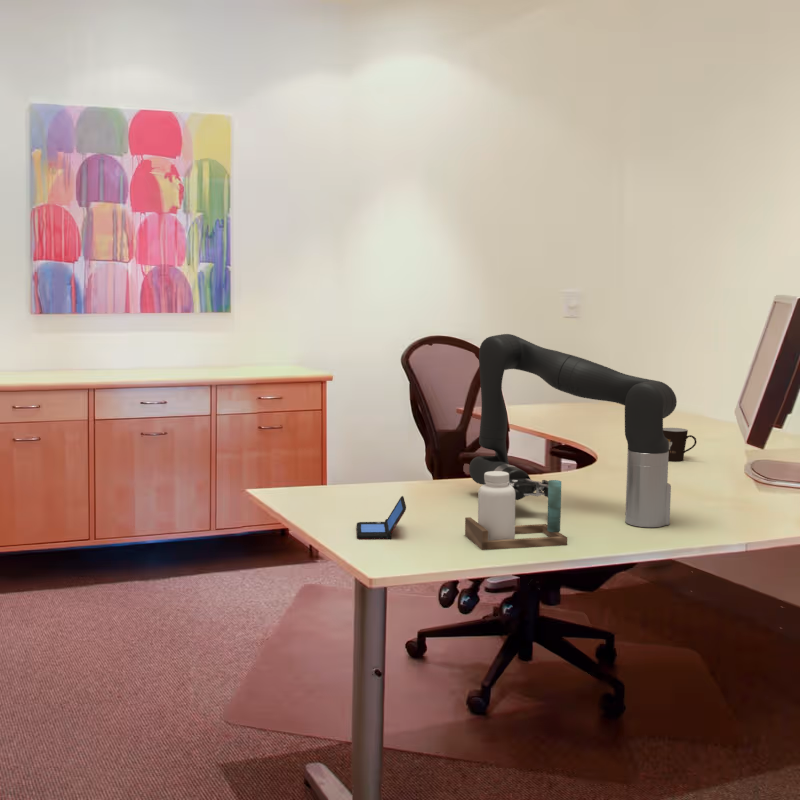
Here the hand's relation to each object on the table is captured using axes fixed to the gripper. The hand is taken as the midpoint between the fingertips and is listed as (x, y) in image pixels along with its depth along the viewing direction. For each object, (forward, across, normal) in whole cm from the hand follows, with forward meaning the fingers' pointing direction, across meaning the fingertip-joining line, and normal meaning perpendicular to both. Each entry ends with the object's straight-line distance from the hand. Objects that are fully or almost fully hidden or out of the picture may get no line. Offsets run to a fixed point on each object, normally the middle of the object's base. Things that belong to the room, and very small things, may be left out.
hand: (534, 495), depth 218 cm
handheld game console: (0, -36, +8) cm, 37 cm away
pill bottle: (+12, -14, +7) cm, 20 cm away
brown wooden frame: (+12, -9, +7) cm, 17 cm away
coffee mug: (-71, +76, +7) cm, 104 cm away
